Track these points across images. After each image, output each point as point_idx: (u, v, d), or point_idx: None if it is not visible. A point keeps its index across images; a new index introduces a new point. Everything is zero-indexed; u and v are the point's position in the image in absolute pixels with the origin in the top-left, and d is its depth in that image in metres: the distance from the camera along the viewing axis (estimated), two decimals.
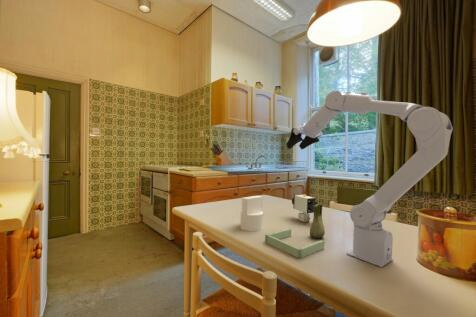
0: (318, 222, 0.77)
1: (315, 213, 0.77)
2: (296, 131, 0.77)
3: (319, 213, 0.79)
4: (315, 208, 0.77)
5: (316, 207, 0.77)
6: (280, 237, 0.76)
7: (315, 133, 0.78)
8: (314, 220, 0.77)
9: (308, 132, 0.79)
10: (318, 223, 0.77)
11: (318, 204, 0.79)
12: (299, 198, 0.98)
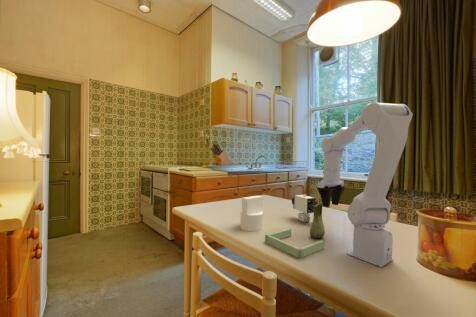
0: (318, 222, 0.77)
1: (315, 213, 0.77)
2: (321, 185, 0.79)
3: (319, 213, 0.79)
4: (315, 208, 0.77)
5: (316, 207, 0.77)
6: (280, 237, 0.76)
7: (337, 179, 0.81)
8: (314, 220, 0.77)
9: (331, 181, 0.81)
10: (318, 223, 0.77)
11: (318, 204, 0.78)
12: (299, 198, 0.98)
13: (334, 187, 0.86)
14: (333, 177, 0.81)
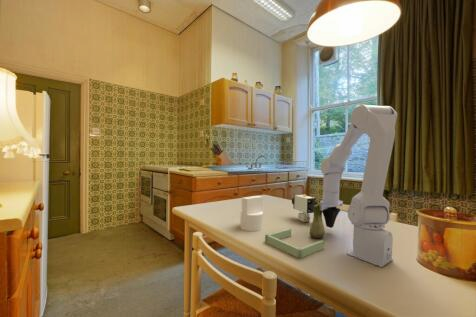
0: (318, 222, 0.77)
1: (315, 213, 0.77)
2: (320, 207, 0.79)
3: (319, 213, 0.79)
4: (315, 208, 0.77)
5: (316, 207, 0.77)
6: (280, 237, 0.76)
7: (336, 201, 0.81)
8: (314, 220, 0.77)
9: (330, 203, 0.81)
10: (318, 223, 0.77)
11: (318, 204, 0.78)
12: (299, 198, 0.98)
13: None
14: (332, 199, 0.81)
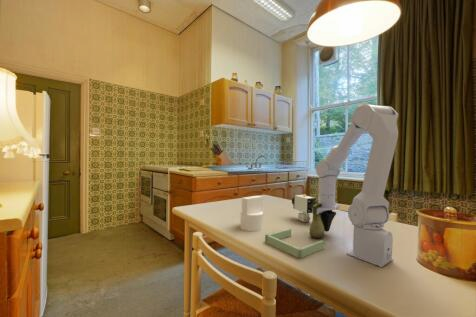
0: (317, 222, 0.77)
1: (314, 213, 0.77)
2: None
3: None
4: (314, 208, 0.77)
5: (315, 207, 0.77)
6: (280, 237, 0.76)
7: (332, 204, 0.79)
8: (313, 220, 0.77)
9: (326, 207, 0.79)
10: (317, 223, 0.77)
11: (317, 204, 0.78)
12: (299, 198, 0.98)
13: None
14: (328, 202, 0.79)
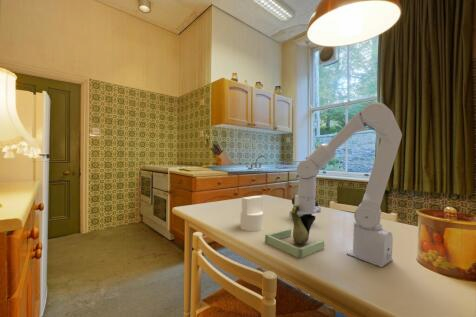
0: (300, 227, 0.70)
1: (295, 220, 0.70)
2: None
3: (298, 217, 0.72)
4: (293, 215, 0.69)
5: (294, 213, 0.69)
6: (280, 237, 0.76)
7: (311, 207, 0.72)
8: (295, 227, 0.70)
9: (304, 210, 0.72)
10: (300, 228, 0.70)
11: (295, 208, 0.71)
12: None
13: None
14: (307, 205, 0.72)
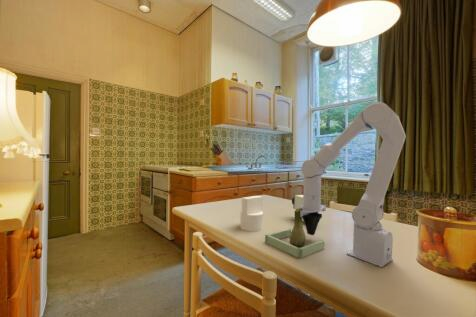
0: (299, 229, 0.70)
1: (296, 219, 0.69)
2: None
3: (299, 218, 0.72)
4: (296, 214, 0.69)
5: (297, 212, 0.69)
6: (280, 237, 0.76)
7: (317, 206, 0.74)
8: (295, 227, 0.69)
9: (310, 208, 0.74)
10: (299, 230, 0.69)
11: (299, 209, 0.71)
12: (299, 198, 0.98)
13: None
14: (313, 204, 0.74)
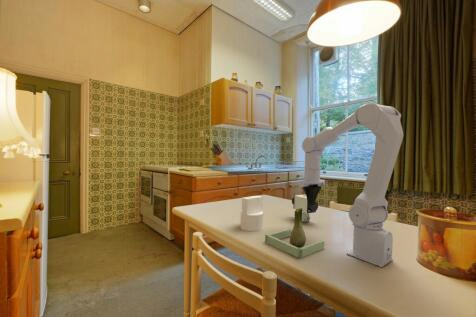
0: (299, 229, 0.70)
1: (296, 219, 0.69)
2: (300, 184, 0.80)
3: (299, 218, 0.72)
4: (296, 214, 0.69)
5: (297, 212, 0.69)
6: (280, 237, 0.76)
7: (317, 178, 0.82)
8: (295, 227, 0.69)
9: (311, 180, 0.82)
10: (299, 230, 0.69)
11: (299, 209, 0.71)
12: (299, 198, 0.98)
13: None
14: (313, 176, 0.82)
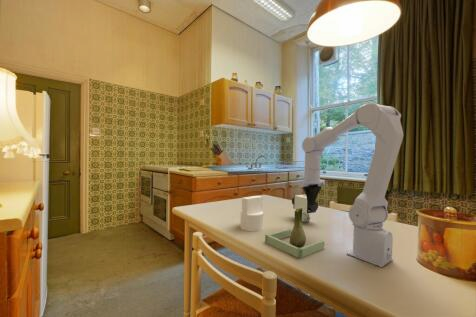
0: (299, 229, 0.70)
1: (296, 219, 0.69)
2: (300, 184, 0.80)
3: (299, 218, 0.72)
4: (296, 214, 0.69)
5: (297, 212, 0.69)
6: (280, 237, 0.76)
7: (317, 178, 0.82)
8: (295, 227, 0.69)
9: (311, 180, 0.82)
10: (299, 230, 0.69)
11: (299, 209, 0.71)
12: (299, 198, 0.98)
13: None
14: (313, 176, 0.82)
